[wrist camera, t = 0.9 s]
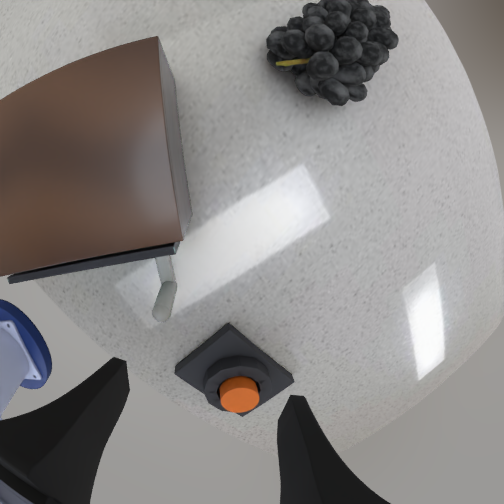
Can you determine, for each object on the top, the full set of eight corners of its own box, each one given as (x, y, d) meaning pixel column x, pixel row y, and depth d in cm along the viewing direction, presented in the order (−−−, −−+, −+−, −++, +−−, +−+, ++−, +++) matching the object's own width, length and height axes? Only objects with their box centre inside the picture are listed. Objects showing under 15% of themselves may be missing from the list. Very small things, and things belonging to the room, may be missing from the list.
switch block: (175, 365, 26) (172, 385, 23) (228, 322, 25) (231, 340, 22) (241, 409, 29) (244, 427, 26) (291, 374, 28) (299, 392, 26)
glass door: (196, 282, 22) (193, 326, 16) (66, 301, 21) (32, 341, 15) (184, 222, 21) (173, 245, 14) (49, 249, 20) (6, 277, 13)
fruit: (405, -34, 9) (286, 21, 10) (447, 45, 14) (361, 133, 15) (340, -16, 16) (231, 49, 17) (381, 46, 21) (292, 121, 22)
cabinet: (192, 215, 22) (183, 241, 14) (50, 244, 21) (-2, 277, 13) (174, 79, 19) (157, 35, 11) (33, 125, 17) (-25, 116, 9)
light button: (211, 389, 24) (212, 401, 23) (239, 369, 24) (241, 382, 22) (237, 405, 25) (239, 417, 24) (264, 387, 25) (267, 399, 23)
